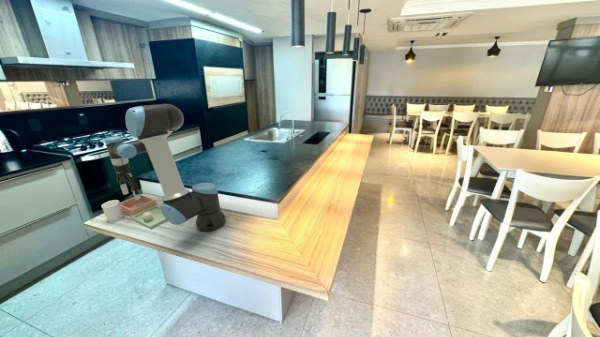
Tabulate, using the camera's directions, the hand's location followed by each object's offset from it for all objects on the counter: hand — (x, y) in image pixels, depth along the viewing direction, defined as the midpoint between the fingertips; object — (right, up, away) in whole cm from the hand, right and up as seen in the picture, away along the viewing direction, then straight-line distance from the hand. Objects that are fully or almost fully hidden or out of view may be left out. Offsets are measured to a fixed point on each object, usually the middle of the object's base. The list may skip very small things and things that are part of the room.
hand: (132, 196), depth 139 cm
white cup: (-3, -12, -8) cm, 15 cm away
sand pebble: (+17, -12, -11) cm, 24 cm away
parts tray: (+19, -11, -8) cm, 23 cm away
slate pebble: (+7, -3, -3) cm, 8 cm away
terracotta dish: (+4, -8, +1) cm, 9 cm away
